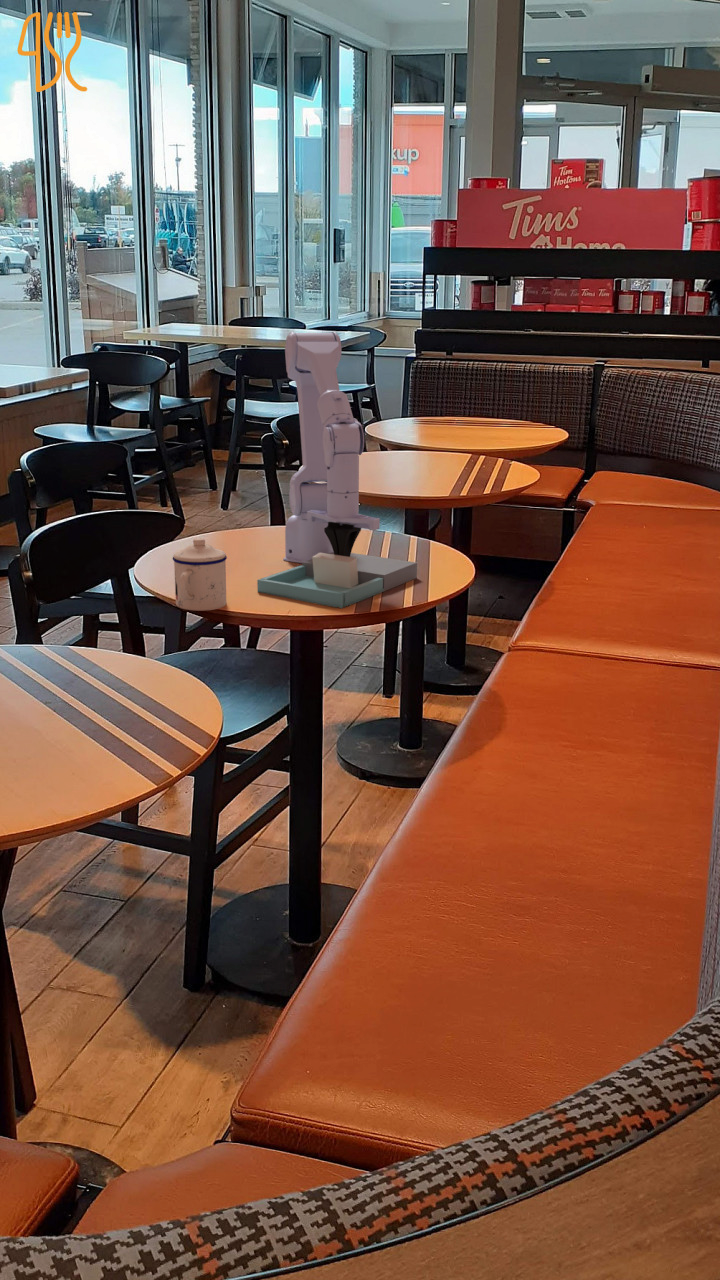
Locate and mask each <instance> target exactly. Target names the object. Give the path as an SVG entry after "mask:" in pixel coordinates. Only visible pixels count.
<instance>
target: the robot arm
mask: <svg viewBox="0 0 720 1280" xmlns="http://www.w3.org/2000/svg"><path fill="white" fill-rule="evenodd" d="M284 346H285V347H284V354H285V366H286V367H285V369H286V373H287V378H288V379H290V380H292V381H294V382H295V385H296V392H297V399H298V400H297V401H298V415H299V426H300V427H299V428H300V429H299V431H300V444H301V457H302V458H301V459H302V467H301V468H300V469H299V470H298V471H296V472H295V473H294V474H292V476H291V478H290V481H289V494H288V497H289V498H288V499H289V500H288V501H289V503H288V504H289V508H290V511H291V513H292V515H291V516H290V517H289V518H288V519H287V521H286V524H285V530H284V533H285V534H284V535H285V539H284V540H285V541H284V542H285V544H284V545H285V548H284V549H285V556H284V557H283V561H284V562H285V561H286V562H292V563H297V564H302V562H305V561H308V560H311V559H312V557H313V556H315V555H316V554H318V553H327V554H329V553H332V552H334V555H340V556H347V557H350V554H351V553H352V550H353V547H354V545H355V542H356V541H357V538H358V536H359V534H360V533H361V531H362V529H365V530H366V529H368V530H369V531H377V530H380V527H381V526H380V521H381V520H380V519H381V518H379V517H372V516H370V515H365V514H361V513H359V509H360V508H359V505H360V504H359V499H360V498H359V497H360V493H359V489H360V488H359V487H360V456H361V455H362V454H363V453H364V448H365V435H364V429H363V425H362V424H361V422H360V421H358V418H354V416H353V412H352V409H351V404H350V402H349V398H348V396H347V394H346V393H345V392H343V391H341V390H340V386H339V379H338V373H337V368H339V363H340V360H341V358H342V342H341V338H340V336H339V334H338V333H337V332H336V331H332V332H294V331H290V332H289V333H288V335H287V336H286V339H285V345H284ZM317 482H318V483H317Z"/></svg>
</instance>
